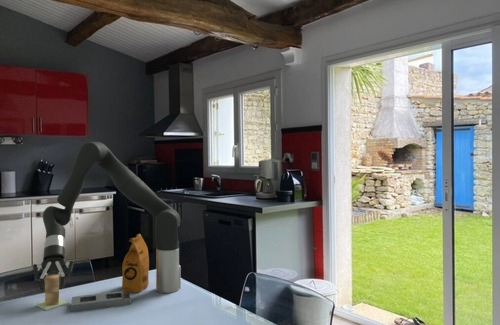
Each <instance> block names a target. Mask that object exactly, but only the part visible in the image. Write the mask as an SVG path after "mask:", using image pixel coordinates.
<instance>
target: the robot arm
mask: <svg viewBox="0 0 500 325" xmlns="http://www.w3.org/2000/svg"><path fill="white" fill-rule="evenodd" d="M94 165H97V166H98V167H100V168H101V169H103V170H104V171H105V172H106V173H107V174H108V175H109V177H110V179H111V181H112V183H113V184H114V186H115V187H116V188H117V190H118V191H119V192H120V193H121V194H122V195H123V196H125V198H126V199H127V200H129V201H131V202H132V203H134V204H135V205H137V206H139V207H140V208H142V209H144V210H146V211H147V212H148V213H149V214H150V215H152V217H154V219H155V220H154V235H155V236H154V240H155V241H154V242H155V245H156V248H155V249H156V250H155V251H156V253H155V254H156V255H155V256H156V261H155V262H156V265H155V270H156V273H155V278H156V279H155V287H156V288H155V291H156V292H158V293H159V294H170V293H175V292H177V291H179V289H181V283H182V282H181V281H182V280H181V279H182V278H181V274H182V273H181V271H182V268H181V265H180V241H179V237H178V236H179V234H178V233H179V227H180V224H181V216H180V214H179V213H178V211H176V210H175V209H174V208H173V207H171V206H170V205H169V204H168V203H166V202H165V201H163V200H162V199H161V198H160V197H158V195H157V194H156V193H155V192H154V191H153V190H152V189H151V188H150V187H149V186H148V185H147V184H146V183H145V182H144V181H143V180H142V179H141V178H140V177H139V176H138V175H136V174H135V173H134V171H132V170H131V169H129V167H127V166H126V165H124V164H123V162H122V161H120V160H119V159H118V158H117V157H116V156H115V155H114V153H113V152H112V151H111V150H110V148H108V147H107V146H106V144H104V143H102V142H100V141H88V142H85V143H83V144H82V145H81V146H80V148H79V150H78V153H77V156H76V159H75V162H74V164H73V167H72V169H71V172H70V174H69V176H68V178H67V179H66V182H65V183H64V185H63V187H62V189H61V191H60V192H59V194H58V195H57V198H56V201H57V203H58V204H59V205H60V206H62V207H64V208H61V207H58V206H54V205H50V206H47V207H46V208H45V209H44V211H43V213H42V220H43V225H44V228H45V241H44V246H43V255H42V256H43V259H42V262H41V263H39V264H37V263H36V264H35V263H34V264H32V266H33V267H32V268H33V274H34V281H35V282H39V287H38V288H39V289H40V290H41V292H45V277H46V275H53V274H59V290H63V288H64V287H65V282H66V281H65V280H66V279H70V278H71V276H72V275H71V274H72V271H73V267H74V262H73V260H71V261H66V227H64V226H66V225H68V224H69V223H70V221H71V218H72V212H73V209H74V206H75V204H76V202H77V200H78V199H79V196H80V195H81V192H82V190H83V188H84V183H85V179H86V178H87V174H88V173H89V171H90V170H91V168H92V167H93V166H94ZM65 266H66V268H67V271H66V273H64V270H63V269H64V268H65ZM41 268H42V270H43V271H42V273H41V275H39V271H40V270H41Z"/></svg>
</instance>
